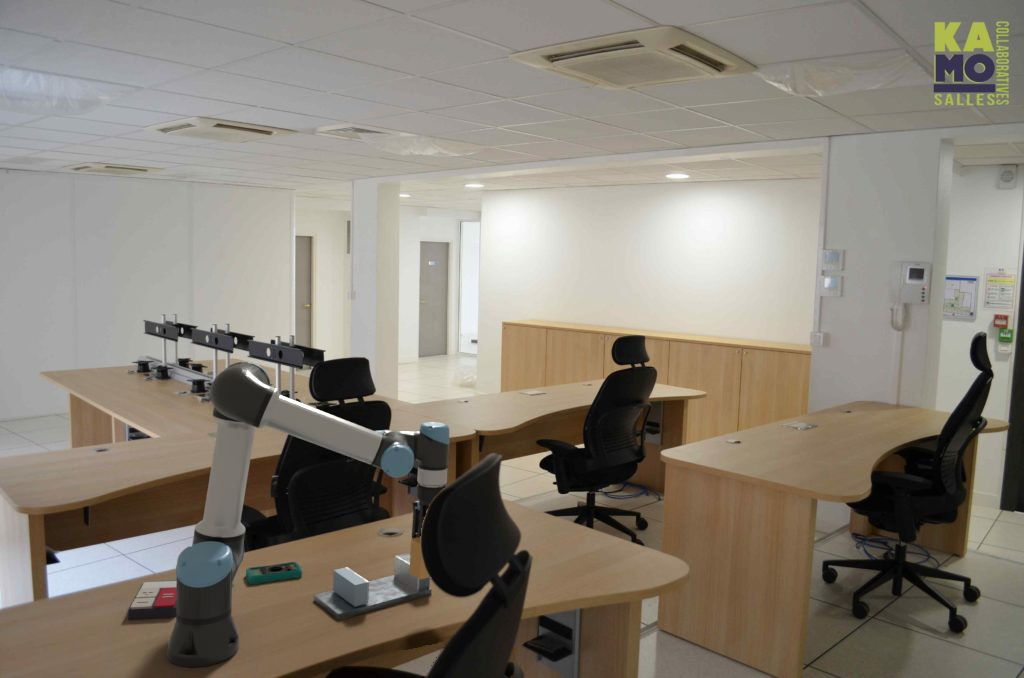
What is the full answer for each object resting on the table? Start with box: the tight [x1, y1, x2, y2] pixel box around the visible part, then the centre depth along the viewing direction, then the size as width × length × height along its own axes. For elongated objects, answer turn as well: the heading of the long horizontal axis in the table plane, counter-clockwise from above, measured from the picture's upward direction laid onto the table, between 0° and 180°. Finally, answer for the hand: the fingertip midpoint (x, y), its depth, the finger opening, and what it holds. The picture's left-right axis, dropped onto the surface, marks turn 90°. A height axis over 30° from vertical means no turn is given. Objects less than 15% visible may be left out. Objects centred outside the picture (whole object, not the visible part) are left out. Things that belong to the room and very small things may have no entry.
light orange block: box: [409, 537, 429, 579], centre depth 194 cm, size 7×5×9 cm
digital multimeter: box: [245, 561, 303, 586], centre depth 215 cm, size 7×15×3 cm, turn 119°
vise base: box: [313, 552, 432, 621], centre depth 204 cm, size 28×14×8 cm, turn 130°
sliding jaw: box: [332, 566, 370, 607], centre depth 200 cm, size 4×12×6 cm, turn 40°
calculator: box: [127, 580, 177, 621], centre depth 193 cm, size 11×4×15 cm
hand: (427, 572), depth 194 cm, fingers closed on light orange block, 5 cm apart
